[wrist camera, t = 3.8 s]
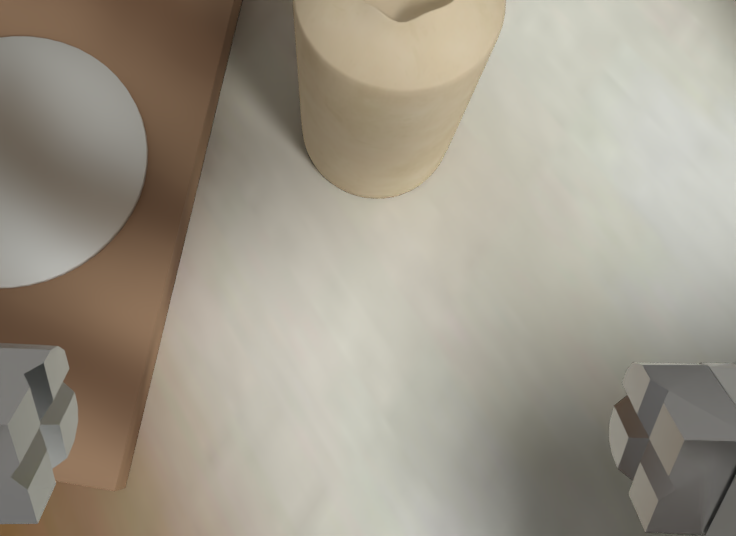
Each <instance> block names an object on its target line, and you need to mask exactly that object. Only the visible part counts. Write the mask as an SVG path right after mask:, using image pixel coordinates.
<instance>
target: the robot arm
mask: <svg viewBox="0 0 736 536" xmlns="http://www.w3.org/2000/svg"><path fill="white" fill-rule="evenodd" d="M68 370H69V365H68V361H67V357H66V354H65V350H63V349H62V348H60V347H59V346H51V345H32V344H12V343H0V524H38V522H39V520H40V517H41V515H42V513H43V511H44V509H45V506H46V504H47V502H48V500H49V498H50V495H51V493H52V491H53V489H54V487H55V484H56V482H55V478H54V474H53V470H52V469H53V468H54V467H56V466H57V465H58V464H60V463H61V462H62V461H64V460H65V459H66V458H68V455H69V453H70V450H71V448H72V446H73V443H74V440H75V435H76V430H77V424H78V405H77V400H76V395H75V392H74V391H73V390H72V389H71V388H69V387H68V386H67V385H66V384H65V383H64V382H63V380H64V378H65V376H66V374H67V372H68ZM622 385H623V387H624V389H625V391H626V393H627V396H626V397H624V398H623V399H622V400H621V401H619V402H618V403H617V404H616V405H614V408H613V411H612V415H611V418H610V422H609V443H610V448H611V453H612V456H613V459H614V461H615V464H616V466H617V468H618V469H619V470H620V471H621V472H622V473H624V474H625V475H626V476H627V477H629V478H630V479H631V480H632V481H633V482H632V485H631V488H630V490H629V493H628V494H629V497H630V499H631V501H632V503H633V506H634V508H635V510H636V513H637V515H638V517H639V519H640V522H641V524H642V526H643V529H644V531H645V533H668V534H691V535H705V536H736V364H735V363H700V364H685V363H641V362H633V363H632V364H631V365H630V366H629V367H628V369H627V370H626V372H625V375H624V378H623V381H622Z"/></svg>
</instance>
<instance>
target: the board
mask: <svg viewBox="0 0 736 536" xmlns="http://www.w3.org/2000/svg"><path fill="white" fill-rule="evenodd" d="M241 3H242V0H0V343H12V344H32V345H51V346H59V347H60V348H62V349H63V350H65V354H66V357H67V361H68V365H69V370H68V372H67V374H66V376H65V378H64V380H63V382H64V383H65V384H66V385H67V386H68V387H69V388H71V389H72V390H73V391H74V392H75V395H76V400H77V405H78V424H77V430H76V435H75V440H74V443H73V446H72V448H71V450H70V453H69V455H68V458H66V459H65V460H64V461H62V462H61V463H60V464H58V465H57V466H56V467H54V468H53V469H52V470H53V474H54V478H55V481H58V482H64V483H69V484H75V485H81V486H87V487H93V488H99V489H105V490H111V491H117V490H120V489H123V488H125V487H126V483H127V479H128V475H129V471H130V467H131V462H132V458H133V454H134V450H135V446H136V442H137V437H138V433H139V429H140V425H141V421H142V416H143V412H144V408H145V404H146V400H147V396H148V391H149V387H150V383H151V379H152V375H153V371H154V366H155V362H156V358H157V354H158V350H159V346H160V341H161V337H162V333H163V329H164V325H165V320H166V316H167V312H168V308H169V304H170V300H171V295H172V291H173V287H174V283H175V279H176V275H177V270H178V266H179V262H180V258H181V254H182V250H183V245H184V241H185V237H186V233H187V229H188V224H189V220H190V216H191V212H192V208H193V204H194V199H195V195H196V191H197V187H198V183H199V179H200V174H201V170H202V166H203V162H204V158H205V154H206V149H207V145H208V141H209V137H210V133H211V128H212V124H213V120H214V116H215V112H216V108H217V103H218V99H219V95H220V91H221V87H222V83H223V78H224V74H225V70H226V66H227V62H228V58H229V53H230V49H231V45H232V41H233V37H234V32H235V28H236V24H237V20H238V16H239V12H240V7H241Z"/></svg>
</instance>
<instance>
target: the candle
mask: <svg viewBox="0 0 736 536" xmlns="http://www.w3.org/2000/svg"><path fill="white" fill-rule="evenodd" d="M505 6H506V0H293V13H294V27H295V41H296V55H297V69H298V83H299V97H300V111H301V124H302V132H303V139H304V143H305V146H306V150H307V152H308V154H309V156H310V158H311V160H312V162H313V163H314V165H315V167H316V168H317V169H318V171H319V172H320V173H321V174H322V175H323V176H324V177H325V178H326V179H327V180H328V181H329V182H330V183H332V184H333V185H335V186H336V187H338V188H339V189H341V190H343V191H345V192H348V193H350V194H353V195H356V196H360V197H365V198H389V197H394V196H398V195H402V194H404V193H406V192H409V191H411V190H413V189H414V188H416V187H418V186H419V185H420V184H422V183H423V182H424V181H425V180H427V179H428V178H429V177H430V176H431V175H432V174H433V173H434V171H435V170H436V169H437V167H438V166H439V164H440V163H441V161H442V159H443V157H444V155H445V153H446V151H447V149H448V147H449V145H450V143H451V140H452V138H453V136H454V134H455V132H456V129H457V127H458V125H459V123H460V121H461V118H462V116H463V114H464V112H465V110H466V107H467V105H468V103H469V101H470V99H471V96H472V94H473V92H474V90H475V88H476V85H477V83H478V81H479V79H480V77H481V74H482V72H483V70H484V68H485V66H486V63H487V61H488V59H489V57H490V54H491V52H492V50H493V48H494V46H495V43H496V41H497V39H498V37H499V34H500V31H501V28H502V26H503V21H504V16H505Z"/></svg>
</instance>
